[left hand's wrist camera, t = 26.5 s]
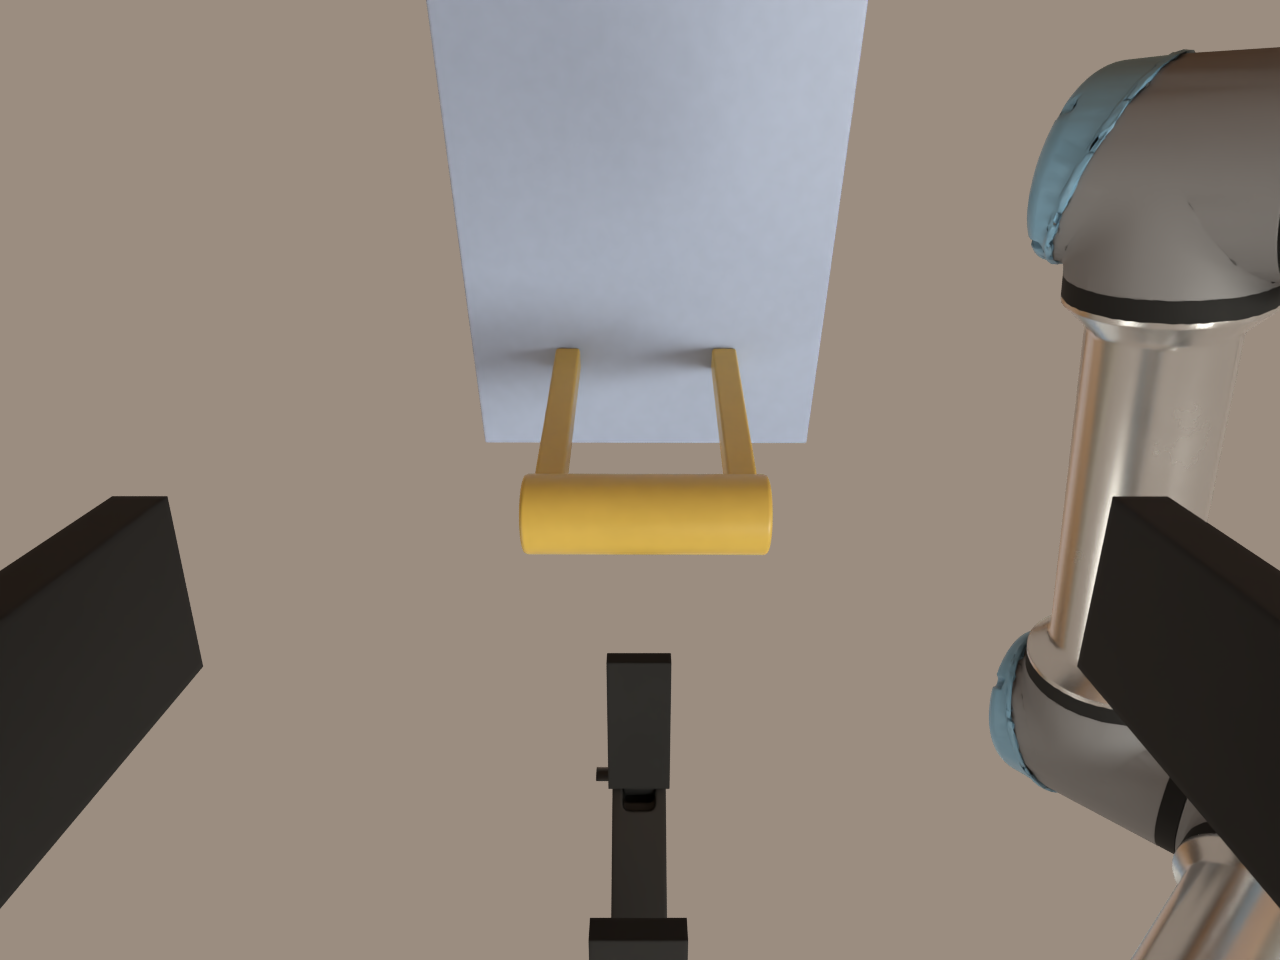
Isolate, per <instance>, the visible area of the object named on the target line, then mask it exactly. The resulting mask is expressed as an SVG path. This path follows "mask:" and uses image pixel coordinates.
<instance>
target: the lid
mask: <svg viewBox="0 0 1280 960" xmlns="http://www.w3.org/2000/svg"><path fill="white" fill-rule="evenodd" d="M426 2H427V9H428V17H429V24H430V31H431V39H432V46H433V54H434V61H435V69H436V76H437V84H438V91H439V99H440V106H441V114H442V121H443V129H444V136H445V143H446V151H447V158H448V166H449V173H450V181H451V188H452V196H453V203H454V211H455V218H456V226H457V233H458V240H459V248H460V255H461V263H462V270H463V278H464V285H465V293H466V300H467V308H468V315H469V323H470V330H471V338H472V345H473V352H474V360H475V367H476V375H477V382H478V390H479V397H480V405H481V412H482V419H483V427H484V435H485V441H486V442H540V448H539V454H538V460H537V466H536V472H535V474H527V475H525V476H524V478H523V481H522V485H521V491H520V503H519V529H520V540H521V545H522V548H523V551H524V553H526V554H660V555H661V554H662V555H670V554H671V555H764V554H767V553H768V550H769V548H770V544H771V538H772V522H773V509H772V493H771V486H770V482H769V479H768V477H767V476H766V475H764V474H756V468H755V462H754V456H753V450H752V444H751V443H805V442H806V440H807V433H808V426H809V419H810V412H811V405H812V397H813V390H814V383H815V376H816V369H817V362H818V354H819V347H820V340H821V333H822V326H823V319H824V311H825V304H826V297H827V290H828V283H829V276H830V269H831V262H832V254H833V247H834V240H835V233H836V226H837V219H838V212H839V204H840V197H841V190H842V183H843V176H844V169H845V161H846V154H847V147H848V140H849V133H850V126H851V119H852V111H853V104H854V97H855V90H856V83H857V76H858V68H859V61H860V54H861V47H862V40H863V33H864V26H865V19H866V11H867V4H868V0H426ZM572 442H626V443H635V442H636V443H639V442H640V443H720V450H721V458H722V467H723V474H568V472H569V463H570V455H571V446H572Z"/></svg>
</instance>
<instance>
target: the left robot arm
mask: <svg viewBox="0 0 1280 960" xmlns="http://www.w3.org/2000/svg"><path fill="white" fill-rule="evenodd" d="M202 667H203V664H202V659H201V654H200V650H199V645H198V640H197V635H196V631H195V626H194V621H193V616H192V612H191V607H190V602H189V597H188V592H187V588H186V583H185V578H184V573H183V569H182V564H181V559H180V554H179V550H178V545H177V540H176V535H175V531H174V526H173V521H172V516H171V511H170V507H169V502H168V497H167V496H112V497H111V498H109V499H108V500H106V501H105V502H103V503H102V504H100V505H99V506H97V507H96V508H94V509H92V510H91V511H90V512H88V513H86V514H85V515H83V516H82V517H80V518H79V519H77V520H76V521H74V522H73V523H71V524H70V525H68V526H67V527H66V528H64V529H62V530H61V531H59V532H58V533H56V534H55V535H53V536H52V537H50V538H49V539H47V540H46V541H44V542H43V543H41V544H40V545H38V546H37V547H35V548H34V549H32V550H31V551H29V552H28V553H26V554H25V555H23V556H22V557H20V558H19V559H17V560H16V561H14V562H13V563H11V564H10V565H8V566H7V567H5V568H4V569H2V570H1V571H0V908H1V907H2V906H3V905H4V903H5V902H6V901H7V900H8V899H9V897H10V896H11V895H12V894H13V893H14V891H15V890H16V889H17V888H18V887H19V885H20V884H21V883H22V882H23V881H24V880H25V878H26V877H27V876H28V875H29V874H30V872H31V871H32V870H33V869H34V868H35V866H36V865H37V864H38V863H39V862H40V860H41V859H42V858H43V857H44V856H45V855H46V853H47V852H48V851H49V850H50V849H51V847H52V846H53V845H54V844H55V843H56V841H57V840H58V839H59V838H60V837H61V835H62V834H63V833H64V832H65V831H66V829H67V828H68V827H69V826H70V825H71V823H72V822H73V821H74V820H75V819H76V818H77V816H78V815H79V814H80V813H81V812H82V810H83V809H84V808H85V807H86V806H87V804H88V803H89V802H90V801H91V800H92V798H93V797H94V796H95V795H96V794H97V792H98V791H99V790H100V789H101V788H102V786H103V785H104V784H105V783H106V782H107V780H108V779H109V778H110V777H111V776H112V775H113V773H114V772H115V771H116V770H117V768H118V767H119V766H120V765H121V764H122V763H123V761H124V760H125V759H126V758H127V757H128V755H129V754H130V753H131V752H132V751H133V749H134V748H135V747H136V746H137V745H138V743H139V742H140V741H141V740H142V739H143V738H144V736H145V735H146V734H147V733H148V732H149V730H150V729H151V728H152V727H153V726H154V724H155V723H156V722H157V721H158V720H159V718H160V717H161V716H162V715H163V714H164V712H165V711H166V710H167V709H168V708H169V707H170V705H171V704H172V703H173V702H174V700H175V699H176V698H177V697H178V696H179V695H180V693H181V692H182V691H183V690H184V689H185V687H186V686H187V685H188V684H189V683H190V681H191V680H192V679H193V678H194V677H195V675H196V674H197V673H198V672H199V671H200V669H201V668H202ZM1077 667H1078V668H1079V670H1080V671H1081V672H1082V673H1083V674H1084V675H1085V677H1086V678H1087V679H1088V680H1089V681H1090V683H1091V684H1092V685H1093V686H1094V687H1095V689H1096V690H1097V691H1098V692H1099V693H1100V695H1101V696H1102V697H1103V698H1104V699H1105V701H1106V702H1107V703H1108V704H1109V705H1110V707H1111V708H1112V709H1113V710H1114V711H1115V712H1116V714H1117V715H1118V716H1119V717H1120V718H1121V720H1122V721H1123V722H1124V723H1125V724H1126V726H1127V727H1128V728H1129V729H1130V730H1131V732H1132V733H1133V734H1134V735H1135V736H1136V738H1137V739H1138V740H1139V741H1140V742H1141V744H1142V745H1143V746H1144V747H1145V748H1146V749H1147V751H1148V752H1149V753H1150V754H1151V755H1152V757H1153V758H1154V759H1155V760H1156V761H1157V763H1158V764H1159V765H1160V766H1161V767H1162V769H1163V770H1164V771H1165V772H1166V773H1167V775H1168V776H1169V777H1170V778H1171V779H1172V781H1173V782H1174V783H1175V784H1176V785H1177V786H1178V788H1179V789H1180V790H1181V791H1182V792H1183V794H1184V795H1185V796H1186V797H1187V798H1188V800H1189V801H1190V802H1191V803H1192V804H1193V806H1194V807H1195V808H1196V809H1197V810H1198V812H1199V813H1200V814H1201V815H1202V816H1203V818H1204V819H1205V820H1206V821H1207V822H1208V823H1209V825H1210V826H1211V827H1212V828H1213V829H1214V831H1215V832H1216V833H1217V834H1218V835H1219V837H1220V838H1221V839H1222V840H1223V841H1224V843H1225V844H1226V845H1227V846H1228V847H1229V849H1230V850H1231V851H1232V852H1233V853H1234V855H1235V856H1236V857H1237V858H1238V859H1239V860H1240V862H1241V863H1242V864H1243V865H1244V866H1245V868H1246V869H1247V870H1248V871H1249V872H1250V874H1251V875H1252V876H1253V877H1254V878H1255V880H1256V881H1257V882H1258V883H1259V884H1260V886H1261V887H1262V888H1263V889H1264V890H1265V892H1266V893H1267V894H1268V895H1269V896H1270V897H1271V899H1272V900H1273V901H1274V902H1275V903H1276V905H1277V906H1278V907H1279V908H1280V571H1279V570H1278V569H1276V568H1275V567H1273V566H1272V565H1270V564H1269V563H1267V562H1266V561H1264V560H1263V559H1261V558H1260V557H1258V556H1257V555H1255V554H1254V553H1252V552H1251V551H1249V550H1248V549H1246V548H1245V547H1243V546H1242V545H1240V544H1239V543H1237V542H1236V541H1234V540H1233V539H1231V538H1230V537H1228V536H1227V535H1225V534H1224V533H1222V532H1221V531H1219V530H1218V529H1216V528H1215V527H1213V526H1212V525H1210V524H1209V523H1207V522H1206V521H1204V520H1203V519H1201V518H1200V517H1198V516H1197V515H1195V514H1194V513H1192V512H1191V511H1189V510H1188V509H1186V508H1185V507H1183V506H1182V505H1180V504H1179V503H1177V502H1176V501H1174V500H1173V499H1171V498H1170V497H1168V496H1113V497H1112V502H1111V507H1110V511H1109V516H1108V521H1107V526H1106V531H1105V535H1104V540H1103V545H1102V550H1101V554H1100V559H1099V564H1098V569H1097V573H1096V578H1095V583H1094V588H1093V592H1092V597H1091V602H1090V607H1089V612H1088V616H1087V621H1086V626H1085V631H1084V635H1083V640H1082V645H1081V650H1080V654H1079V659H1078V664H1077Z"/></svg>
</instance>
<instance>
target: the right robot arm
mask: <svg viewBox="0 0 1280 960" xmlns="http://www.w3.org/2000/svg"><path fill="white" fill-rule="evenodd" d="M1027 228H1028V235H1029V237H1030V239H1032V243H1031V245H1032V248H1033V250H1034V252H1035V253H1036V254H1037V255H1038V256H1039V257H1041V258H1042V259H1045V260H1047V261H1048V262H1050V263H1051V264H1063V279H1062V290H1061V302H1062V304H1063V305H1064V306H1065V307H1066V308H1067V309H1068V310H1069V311H1070V312H1071V313H1072V314H1073V315H1074V316H1075V317H1076V318H1077V319H1078V320H1079V321H1080V322H1081V323H1082V324H1083V326H1084V332H1083V341H1082V350H1081V359H1080V368H1079V377H1078V386H1077V395H1076V404H1075V413H1074V422H1073V431H1072V439H1071V449H1070V457H1069V466H1068V475H1067V484H1066V493H1065V502H1064V511H1063V520H1062V529H1061V538H1060V547H1059V556H1058V565H1057V574H1056V583H1055V591H1054V600H1053V609H1052V615H1050V616H1048V617H1046V618H1044V619H1042V620H1041V621H1040V622H1038V623H1037V624H1036V625H1035V626H1034V627H1033V629H1032V630H1031V631H1029V632H1027V633H1025V634H1023V635H1022V636H1020V637H1019V638H1018V639H1017V640H1016V641H1015V642H1014V643H1013V645H1012V646H1011V647H1010V649H1009V650H1008V652H1007V653H1006V655H1005V657H1004V659H1003V661H1002V663H1001V665H1000V667H999V670H998V673H997V676H998V682H997V685H996V686H995V687H993V689H992V693H991V699H990V708H989V725H990V733H991V738H992V741H993V744H994V746H995V748H996V750H997V752H998V754H999V755H1000V757H1001V758H1002V759H1003V760H1004V761H1005V762H1006V763H1007V764H1008V765H1009V766H1011V767H1012V768H1014V769H1016V770H1017V771H1019V772H1021V773H1022V774H1024V775H1026V776H1027V777H1029V778H1031V779H1032V780H1033V782H1035V783H1036V784H1037V785H1038V786H1040V787H1042V788H1044V789H1046V790H1048V791H1051V792H1058V793H1060V794H1062V795H1064V796H1065V797H1067V798H1069V799H1071V800H1073V801H1075V802H1077V803H1079V804H1081V805H1082V806H1084V807H1086V808H1088V809H1090V810H1092V811H1094V812H1095V813H1097V814H1099V815H1101V816H1103V817H1105V818H1107V819H1109V820H1111V821H1112V822H1114V823H1116V824H1118V825H1120V826H1122V827H1124V828H1126V829H1127V830H1129V831H1131V832H1133V833H1135V834H1137V835H1139V836H1141V837H1142V838H1144V839H1146V840H1148V841H1150V842H1152V843H1154V844H1156V845H1158V846H1160V847H1162V848H1164V849H1165V850H1167V851H1169V852H1171V853H1173V854H1174V857H1173V862H1172V869H1173V874H1174V878H1175V881H1176V883H1177V886H1176V888H1175V889H1174V891H1173V892H1172V894H1171V896H1170V897H1169V899H1168V900H1167V902H1166V904H1165V905H1164V907H1163V909H1162V910H1161V912H1160V913H1159V915H1158V917H1157V918H1156V920H1155V922H1154V923H1153V925H1152V926H1151V928H1150V929H1149V931H1148V933H1147V934H1146V936H1145V937H1144V939H1143V941H1142V942H1141V944H1140V946H1139V947H1138V949H1137V950H1136V952H1135V954H1134V955H1133V957H1132V958H1131V960H1280V908H1279V907H1278V906H1277V905H1276V903H1275V902H1274V901H1273V900H1272V899H1271V897H1270V896H1269V895H1268V894H1267V893H1266V892H1265V890H1264V889H1263V888H1262V887H1261V886H1260V884H1259V883H1258V882H1257V881H1256V880H1255V878H1254V877H1253V876H1252V875H1251V874H1250V872H1249V871H1248V870H1247V869H1246V868H1245V866H1244V865H1243V864H1242V863H1241V862H1240V860H1239V859H1238V858H1237V857H1236V856H1235V855H1234V853H1233V852H1232V851H1231V850H1230V849H1229V847H1228V846H1227V845H1226V844H1225V843H1224V841H1223V840H1222V839H1221V838H1220V837H1219V835H1218V834H1217V833H1216V832H1215V831H1214V829H1213V828H1212V827H1211V826H1210V825H1209V823H1208V822H1207V821H1206V820H1205V819H1204V818H1203V816H1202V815H1201V814H1200V813H1199V812H1198V810H1197V809H1196V808H1195V807H1194V806H1193V804H1192V803H1191V802H1190V801H1189V800H1188V798H1187V797H1186V796H1185V795H1184V794H1183V792H1182V791H1181V790H1180V789H1179V788H1178V786H1177V785H1176V784H1175V783H1174V782H1173V781H1172V779H1171V778H1170V777H1169V776H1168V775H1167V773H1166V772H1165V771H1164V770H1163V769H1162V767H1161V766H1160V765H1159V764H1158V763H1157V761H1156V760H1155V759H1154V758H1153V757H1152V755H1151V754H1150V753H1149V752H1148V751H1147V749H1146V748H1145V747H1144V746H1143V745H1142V744H1141V742H1140V741H1139V740H1138V739H1137V738H1136V736H1135V735H1134V734H1133V733H1132V732H1131V730H1130V729H1129V728H1128V727H1127V726H1126V724H1125V723H1124V722H1123V721H1122V720H1121V718H1120V717H1119V716H1118V715H1117V714H1116V712H1115V711H1114V710H1113V709H1112V708H1111V707H1110V705H1109V704H1108V703H1107V702H1106V701H1105V699H1104V698H1103V697H1102V696H1101V695H1100V693H1099V692H1098V691H1097V690H1096V689H1095V687H1094V686H1093V685H1092V684H1091V683H1090V681H1089V680H1088V679H1087V678H1086V677H1085V675H1084V674H1083V673H1082V672H1081V671H1080V670H1079V668H1078V667H1077V664H1078V659H1079V654H1080V650H1081V645H1082V640H1083V635H1084V631H1085V626H1086V621H1087V616H1088V612H1089V607H1090V602H1091V597H1092V592H1093V588H1094V583H1095V578H1096V573H1097V569H1098V564H1099V559H1100V554H1101V550H1102V545H1103V540H1104V535H1105V531H1106V526H1107V521H1108V516H1109V511H1110V507H1111V502H1112V497H1113V496H1168V497H1170V498H1171V499H1173V500H1174V501H1176V502H1177V503H1179V504H1180V505H1182V506H1183V507H1185V508H1186V509H1188V510H1189V511H1191V512H1192V513H1194V514H1195V515H1197V516H1198V517H1200V518H1201V519H1203V520H1204V521H1206V522H1207V521H1208V516H1209V511H1210V507H1211V501H1212V497H1213V492H1214V487H1215V482H1216V477H1217V472H1218V467H1219V462H1220V457H1221V452H1222V447H1223V442H1224V437H1225V432H1226V427H1227V422H1228V417H1229V412H1230V407H1231V402H1232V397H1233V392H1234V387H1235V382H1236V377H1237V372H1238V367H1239V362H1240V357H1241V352H1242V347H1243V342H1244V338H1245V334H1246V332H1247V331H1248V330H1250V329H1251V328H1253V327H1254V326H1256V325H1258V324H1259V323H1261V322H1262V321H1264V320H1266V319H1267V318H1269V317H1270V316H1272V315H1274V314H1275V313H1277V312H1278V311H1279V310H1280V47H1277V48H1261V49H1246V50H1231V51H1215V52H1199V53H1195V51H1194V50H1185V49H1184V50H1181V51H1177V52H1173V53H1171V54H1169V55H1165V56H1156V57H1148V58H1138V59H1130V60H1123V61H1119V62H1115V63H1112V64H1110V65H1107V66H1105V67H1103V68H1102V69H1100V70H1098V71H1097V72H1095V73H1094V74H1093V75H1091V76H1090V77H1089V78H1088V79H1087V80H1086V81H1085V82H1084V83H1082V84H1081V86H1080V87H1079V88H1078V89H1077V90H1076V91H1075V92H1074V93H1073V95H1072V96H1071V97H1070V99H1069V100H1068V101H1067V103H1066V104H1065V106H1064V108H1063V110H1062V112H1061V113H1060V115H1059V117H1058V118H1057V120H1056V121H1055V122H1054V124H1053V126H1052V128H1051V130H1050V133H1049V135H1048V137H1047V139H1046V141H1045V144H1044V146H1043V149H1042V151H1041V154H1040V157H1039V160H1038V163H1037V166H1036V169H1035V173H1034V177H1033V180H1032V185H1031V190H1030V195H1029V202H1028V211H1027ZM670 714H671V654H670V653H607V721H608V767H597V772H596V781H608V783H609V789H613V803H612V905H611V906H612V907H611V918H590V928H589V960H688V932H687V918H667V887H666V789H669V781H670ZM1198 834H1199V835H1198Z"/></svg>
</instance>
